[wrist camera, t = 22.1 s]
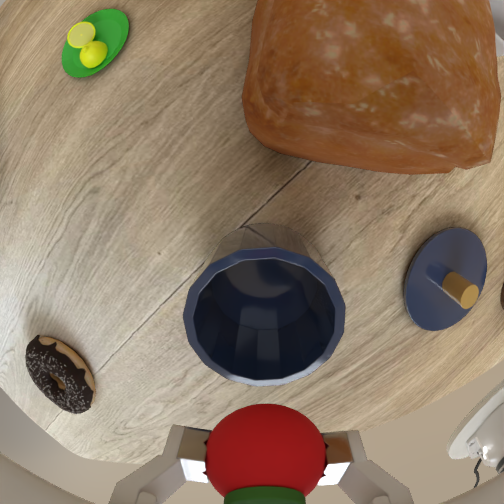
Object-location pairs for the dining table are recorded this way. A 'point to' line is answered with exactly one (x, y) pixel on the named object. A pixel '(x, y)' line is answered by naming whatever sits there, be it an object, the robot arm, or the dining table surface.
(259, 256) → the pot
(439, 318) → the pot lid
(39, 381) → the donut
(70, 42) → the green dish with lemons
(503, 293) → the stand
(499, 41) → the cup
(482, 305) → the dining table surface
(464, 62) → the bread
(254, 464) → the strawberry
